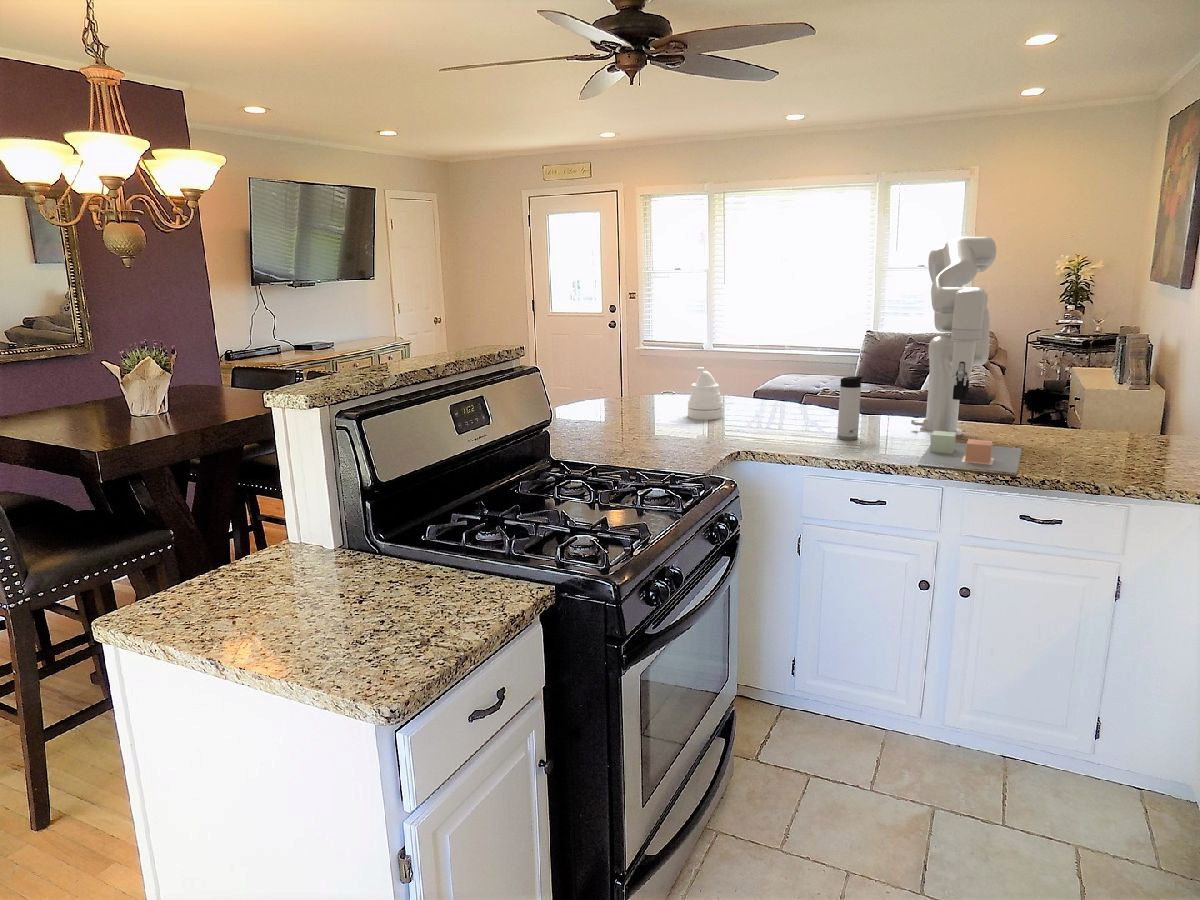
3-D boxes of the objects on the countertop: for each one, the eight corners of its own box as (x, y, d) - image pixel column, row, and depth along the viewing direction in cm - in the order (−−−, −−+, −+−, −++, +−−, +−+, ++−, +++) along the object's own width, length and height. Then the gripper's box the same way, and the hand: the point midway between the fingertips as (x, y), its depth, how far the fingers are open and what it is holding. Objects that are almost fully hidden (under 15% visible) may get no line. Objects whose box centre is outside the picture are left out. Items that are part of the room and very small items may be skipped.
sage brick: (929, 451, 227) (931, 434, 226) (932, 447, 232) (934, 430, 231) (952, 453, 224) (953, 436, 223) (954, 449, 229) (956, 432, 228)
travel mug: (855, 441, 247) (859, 377, 242) (834, 439, 250) (838, 376, 246) (861, 437, 252) (864, 375, 247) (840, 435, 255) (843, 374, 251)
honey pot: (686, 419, 285) (687, 370, 281) (688, 412, 298) (689, 365, 293) (722, 419, 283) (723, 370, 279) (723, 413, 296) (724, 365, 291)
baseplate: (917, 466, 215) (918, 462, 215) (932, 444, 241) (933, 440, 240) (1016, 477, 204) (1016, 472, 203) (1021, 452, 229) (1021, 448, 229)
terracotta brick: (964, 461, 216) (966, 443, 214) (967, 456, 221) (968, 439, 220) (989, 463, 213) (991, 445, 212) (990, 458, 218) (992, 441, 217)
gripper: (954, 331, 225) (948, 390, 230) (948, 338, 211) (942, 401, 215) (983, 332, 222) (977, 392, 226) (979, 339, 207) (972, 403, 211)
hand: (960, 396), depth 221 cm, fingers open, 9 cm apart
